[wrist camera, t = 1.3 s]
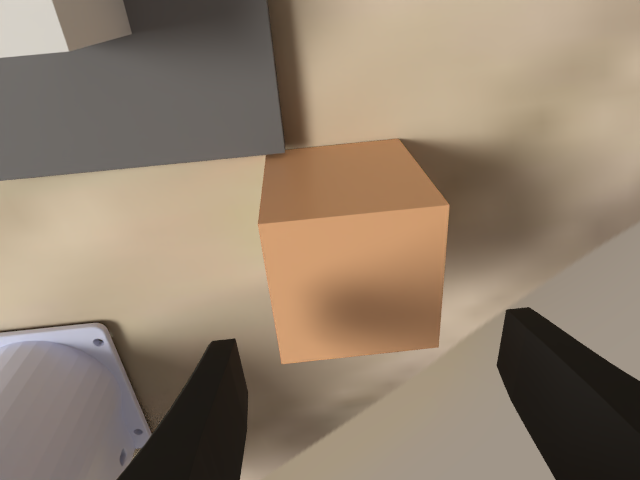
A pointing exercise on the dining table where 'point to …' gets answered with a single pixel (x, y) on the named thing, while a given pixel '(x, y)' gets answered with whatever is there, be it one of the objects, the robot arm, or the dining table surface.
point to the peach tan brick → (352, 250)
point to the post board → (134, 84)
